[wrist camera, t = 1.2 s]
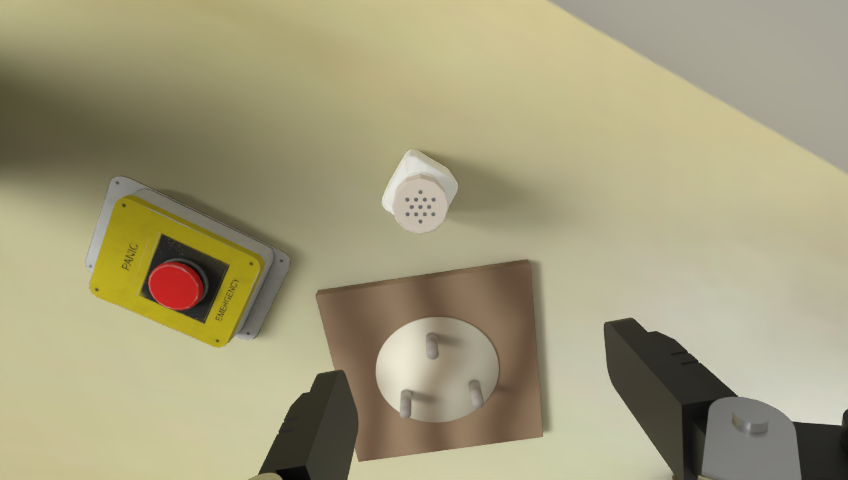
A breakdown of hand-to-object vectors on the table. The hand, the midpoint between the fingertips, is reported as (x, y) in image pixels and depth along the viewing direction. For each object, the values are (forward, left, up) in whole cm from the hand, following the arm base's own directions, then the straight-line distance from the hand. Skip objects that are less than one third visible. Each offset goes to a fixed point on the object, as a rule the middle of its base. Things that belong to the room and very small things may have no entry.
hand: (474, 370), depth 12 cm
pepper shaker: (-1, +3, -21) cm, 21 cm away
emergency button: (-21, -1, -22) cm, 30 cm away
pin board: (-2, -14, -21) cm, 25 cm away
